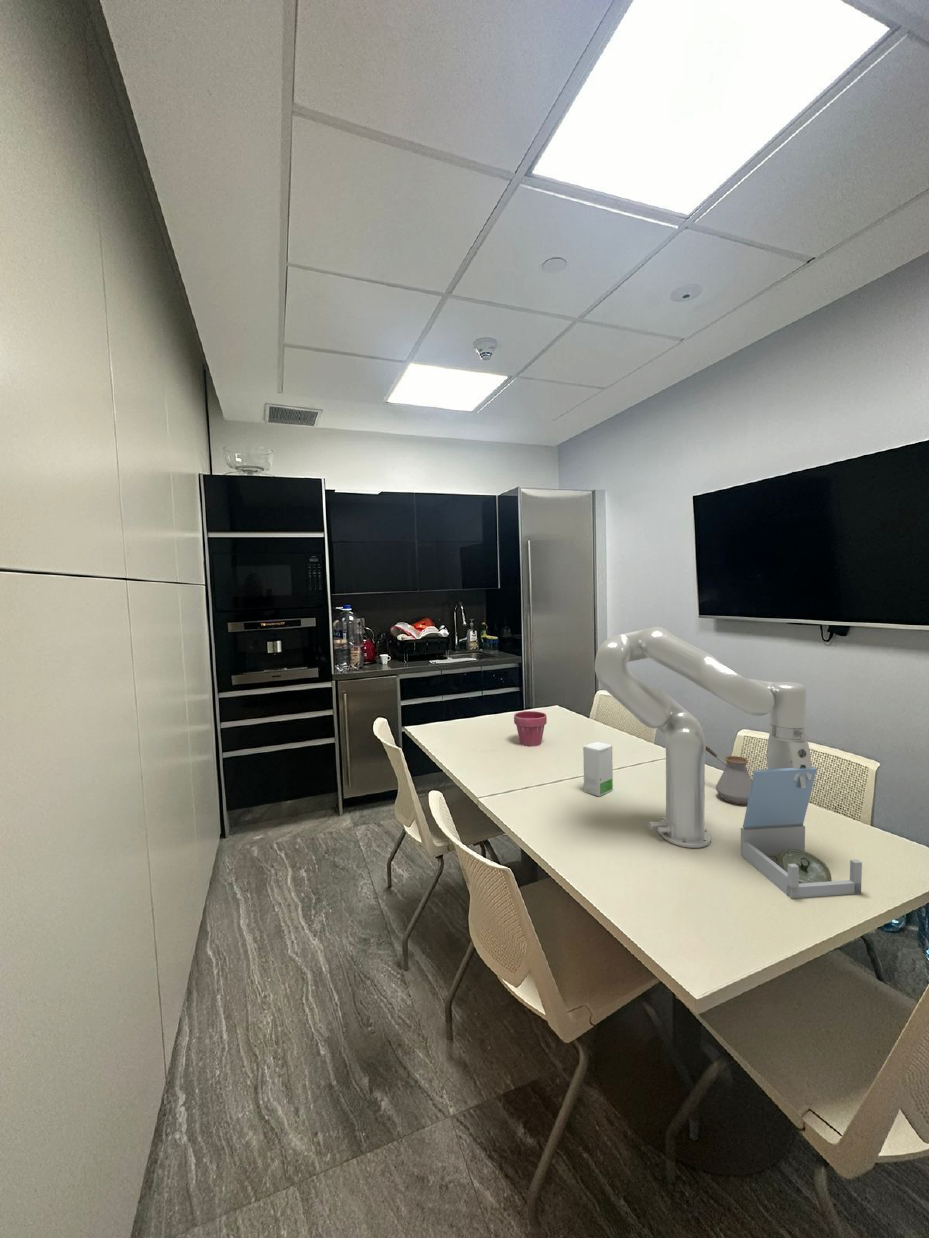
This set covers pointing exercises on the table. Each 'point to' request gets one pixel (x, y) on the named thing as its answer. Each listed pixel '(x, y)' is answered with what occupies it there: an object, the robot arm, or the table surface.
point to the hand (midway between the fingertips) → (786, 803)
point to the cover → (778, 798)
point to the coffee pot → (734, 779)
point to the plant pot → (530, 727)
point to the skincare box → (598, 768)
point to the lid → (804, 866)
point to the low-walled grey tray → (791, 837)
